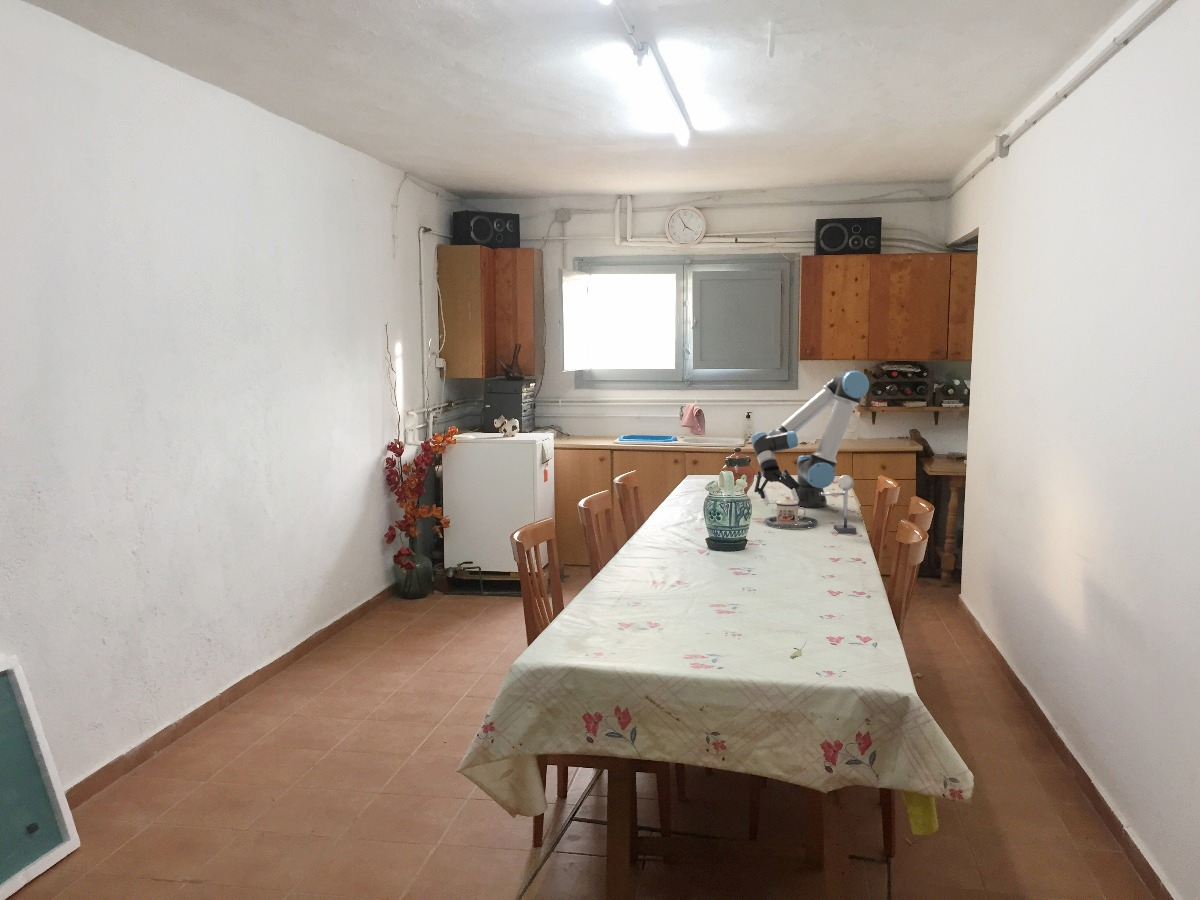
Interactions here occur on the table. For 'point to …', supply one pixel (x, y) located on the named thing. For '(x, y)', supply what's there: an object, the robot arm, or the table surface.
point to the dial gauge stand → (845, 484)
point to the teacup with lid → (788, 511)
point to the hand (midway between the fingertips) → (782, 503)
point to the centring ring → (814, 523)
